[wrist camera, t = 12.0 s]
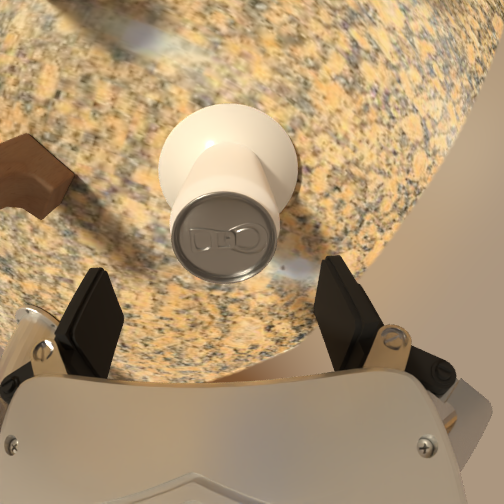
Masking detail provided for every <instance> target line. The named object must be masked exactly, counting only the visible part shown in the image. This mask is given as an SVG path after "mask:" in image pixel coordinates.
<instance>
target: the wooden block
mask: <svg viewBox="0 0 504 504" xmlns="http://www.w3.org/2000/svg"><path fill="white" fill-rule="evenodd" d="M73 178H74V174H73V173H72V172H71V171H70V170H69V169H68V168H66V167H65V166H64V165H63V164H62V163H61V162H59V161H58V160H57V159H56V158H55V157H54V156H53V155H51V154H50V153H49V152H48V151H47V150H46V149H45V148H43V147H42V146H41V145H40V144H39V143H38V142H37V141H36V140H34V139H33V138H32V137H31V136H30V135H29V134H27V133H25V134H23V135H20V136H17V137H15V138H13V139H10V140H8V141H5V142H3V143H1V144H0V209H3V208H5V207H17V208H23V209H25V210H26V211H28V212H29V213H31V214H32V215H34V216H35V217H37V218H38V219H40V220H42V219H44V218H45V217H46V216H47V215H48V214H49V213H50V212H51V211H52V210H54V209H55V208H56V207H57V206H58V205H59V204H60V203H61V202H62V200H63V198H64V196H65V194H66V192H67V190H68V188H69V186H70V184H71V182H72V180H73Z"/></svg>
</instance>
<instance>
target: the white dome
mask: <svg viewBox="0 0 504 504" xmlns="http://www.w3.org/2000/svg"><path fill="white" fill-rule="evenodd" d="M222 142H233V143H238V144H241V145H243V146H245V147H247V148H248V149H250V150H251V151H252V152H253V153H254V154H255V155H256V156H257V158H258V159H259V161H260V163H261V165H262V168H263V170H264V173H265V175H266V178H267V180H268V183H269V186H270V188H271V191H272V194H273V196H274V199H275V202H276V205H277V208H278V212H279V213H280V212H281V211H282V210H283V209H284V208H285V206H286V205H287V203H288V202H289V200H290V198H291V196H292V194H293V192H294V189H295V186H296V182H297V175H298V162H297V155H296V152H295V149H294V146H293V144H292V142H291V139H290V138H289V136H288V135H287V133H286V131H285V130H284V129H283V128H282V127H281V126H280V124H279V123H277V122H276V121H275V120H274V119H273V118H272V117H270V116H268V115H267V114H265V113H264V112H262V111H260V110H258V109H255V108H253V107H250V106H246V105H242V104H234V103H224V104H216V105H212V106H208V107H205V108H203V109H200V110H198V111H196V112H194V113H192V114H190V115H189V116H187V117H186V118H185V119H183V120H182V121H181V122H180V123H179V124H178V125H177V126H176V127H175V128H174V129H173V130H172V132H171V133H170V134H169V136H168V138H167V140H166V141H165V143H164V146H163V148H162V151H161V154H160V159H159V168H158V172H159V181H160V186H161V189H162V192H163V195H164V197H165V199H166V201H167V202H168V204H169V205H170V207H171V208H173V205H174V203H175V200H176V198H177V196H178V194H179V192H180V190H181V187H182V185H183V183H184V181H185V179H186V178H187V176H188V174H189V172H190V170H191V168H192V166H193V164H194V163H195V161H196V159H197V158H198V156H199V155H200V154H201V153H202V152H203V151H204V150H205V149H207V148H208V147H210V146H212V145H215V144H218V143H222Z"/></svg>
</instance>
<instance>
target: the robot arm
mask: <svg viewBox="0 0 504 504" xmlns="http://www.w3.org/2000/svg"><path fill="white" fill-rule="evenodd" d="M314 314H315V316H316V319H317V322H318V325H319V328H320V330H321V333H322V336H323V339H324V342H325V344H326V348H327V350H328V353H329V356H330V359H331V362H332V365H333V368H334V371H335V372H328V373H322V374H314V375H307V376H298V377H290V378H282V379H271V380H260V381H246V382H227V383H156V382H138V381H124V380H113V379H107V377H108V373H109V370H110V366H111V362H112V359H113V355H114V352H115V348H116V345H117V342H118V339H119V335H120V332H121V329H122V326H123V323H124V315H123V312H122V310H121V307H120V305H119V302H118V300H117V297H116V295H115V292H114V289H113V287H112V284H111V281H110V278H109V276H108V273H107V271H104V269H103V268H101V267H100V268H90V269H89V270H88V272H87V274H86V275H85V277H84V279H83V280H82V282H81V284H80V286H79V287H78V289H77V291H76V293H75V294H74V296H73V298H72V300H71V302H70V303H69V305H68V307H67V309H66V311H65V313H64V315H63V317H62V319H61V321H60V323H59V322H58V321H57V320H56V319H55V318H54V317H52V316H51V315H50V314H48V313H47V312H45V311H44V310H42V309H40V308H38V307H36V306H33V305H27V304H26V305H21V306H20V307H19V308H18V310H17V311H16V315H15V317H16V321H17V324H18V326H17V327H16V329H15V331H14V333H13V335H12V336H11V338H10V340H9V342H8V344H7V346H6V348H5V350H4V352H3V354H2V356H1V358H0V504H467V500H466V495H465V490H464V485H463V481H462V477H461V473H460V472H461V470H462V469H463V467H464V466H465V464H466V463H467V461H468V459H469V458H470V456H471V454H472V453H473V451H474V449H475V447H476V446H477V444H478V442H479V440H480V438H481V437H482V434H483V433H484V431H485V429H486V427H487V425H488V422H489V420H490V418H491V416H492V406H491V403H490V402H489V401H488V400H487V399H486V398H485V397H484V396H482V395H481V394H480V393H479V392H477V391H476V390H475V389H474V388H473V387H471V386H470V385H469V384H468V383H466V382H465V381H464V380H463V379H462V378H461V379H460V380H458V379H457V378H456V372H455V369H454V368H453V366H452V365H451V364H450V363H449V362H447V361H446V360H443V359H441V358H439V357H436V356H434V355H432V354H430V353H427V352H425V351H423V350H421V349H418V348H416V347H414V346H412V345H411V342H412V341H411V337H410V335H409V333H408V332H407V331H406V330H405V329H404V328H402V327H400V326H397V325H385V326H384V324H383V322H382V321H381V319H380V317H379V315H378V313H377V312H376V310H375V308H374V307H373V305H372V303H371V301H370V300H369V298H368V296H367V295H366V293H365V291H364V290H363V288H362V287H361V285H360V284H358V283H357V282H356V280H355V279H354V277H353V275H352V274H351V272H350V270H349V269H348V267H347V265H346V264H345V262H344V261H343V259H342V257H341V256H340V255H336V256H327V257H326V259H325V260H322V263H321V269H320V275H319V281H318V286H317V292H316V297H315V303H314Z"/></svg>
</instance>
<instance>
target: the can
mask: <svg viewBox="0 0 504 504" xmlns="http://www.w3.org/2000/svg"><path fill="white" fill-rule="evenodd" d="M279 231H280V217H279V212H278V208H277V205H276V202H275V199H274V196H273V194H272V191H271V188H270V186H269V183H268V180H267V178H266V175H265V173H264V170H263V168H262V165H261V163H260V161H259V159H258V158H257V156H256V155H255V154H254V153H253V152H252V151H251V150H250V149H248V148H247V147H245V146H243V145H241V144H238V143H233V142H222V143H218V144H215V145H212V146H210V147H208V148H207V149H205V150H204V151H203V152H202V153H201V154H200V155H199V156H198V158H197V159H196V161H195V163H194V164H193V166H192V168H191V170H190V172H189V174H188V176H187V178H186V179H185V181H184V183H183V185H182V187H181V190H180V192H179V194H178V196H177V198H176V200H175V203H174V205H173V208H172V211H171V216H170V232H171V242H172V247H173V251H174V253H175V255H176V257H177V259H178V261H179V262H180V263H181V265H182V266H183V267H184V268H185V269H186V270H187V271H189V272H190V273H191V274H193V275H194V276H196V277H198V278H200V279H203V280H205V281H208V282H213V283H220V284H229V283H237V282H241V281H244V280H247V279H249V278H251V277H253V276H255V275H256V274H258V273H259V272H261V271H262V270H263V269H264V268H265V267H266V266H267V265H268V263H269V262H270V260H271V259H272V257H273V255H274V253H275V250H276V246H277V239H278V236H279Z"/></svg>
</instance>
